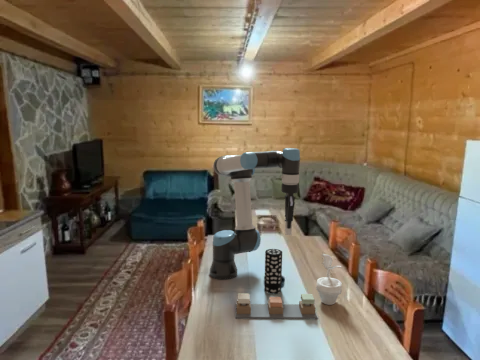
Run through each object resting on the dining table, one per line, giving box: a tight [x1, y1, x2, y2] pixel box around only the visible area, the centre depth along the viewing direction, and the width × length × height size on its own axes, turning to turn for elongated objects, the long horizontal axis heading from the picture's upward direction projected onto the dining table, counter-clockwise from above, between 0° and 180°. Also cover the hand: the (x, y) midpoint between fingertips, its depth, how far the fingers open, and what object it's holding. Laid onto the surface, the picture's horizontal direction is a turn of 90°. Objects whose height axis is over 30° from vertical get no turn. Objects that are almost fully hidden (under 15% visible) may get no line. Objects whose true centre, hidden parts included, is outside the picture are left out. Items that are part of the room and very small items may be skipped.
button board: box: [235, 300, 319, 320], centre depth 161 cm, size 11×35×4 cm, turn 91°
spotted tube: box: [263, 248, 283, 295], centre depth 181 cm, size 8×8×20 cm
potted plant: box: [315, 252, 343, 306], centre depth 169 cm, size 13×12×25 cm
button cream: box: [237, 293, 251, 306], centre depth 161 cm, size 5×5×5 cm
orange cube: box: [268, 296, 283, 307], centre depth 161 cm, size 5×5×5 cm
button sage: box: [300, 293, 315, 306], centre depth 161 cm, size 5×5×5 cm
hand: (288, 234), depth 166 cm, fingers closed
